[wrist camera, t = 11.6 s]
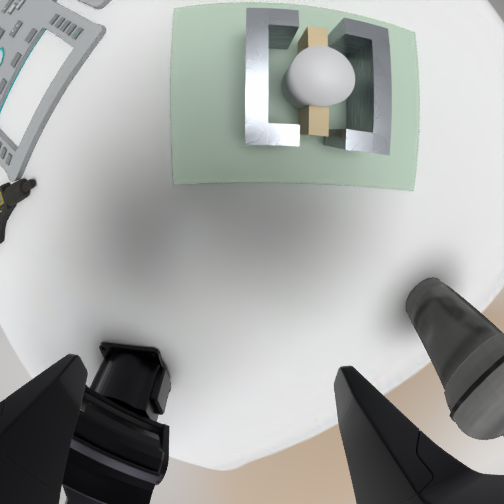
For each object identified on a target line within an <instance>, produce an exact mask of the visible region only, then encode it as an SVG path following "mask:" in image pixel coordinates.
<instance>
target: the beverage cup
mask: <svg viewBox="0 0 504 504" xmlns="http://www.w3.org/2000/svg"><path fill="white" fill-rule="evenodd" d="M406 312H407V313H408V315H409V317H410V319H411V321H412V324H413V326H414V328H415V330H416V332H417V333H418V335H419V337H420V339H421V341H422V343H423V345H424V347H425V349H426V351H427V353H428V355H429V357H430V359H431V361H432V363H433V365H434V367H435V369H436V371H437V374H438V376H439V378H440V380H441V383H442V385H443V387H444V389H445V392H444V394H445V397H446V401H447V404H448V407H449V409H450V411H451V413H450V417H451V419H452V420H453V421H454V422H456V424H457V425H458V427H459V428H460V429H461V430H462V431H463V432H464V433H465V434H466V435H468V436H470V437H472V438H475V439H479V440H488V439H494V438H497V437H500V436H502V435H503V436H504V333H502V332H501V331H500V330H499V329H498V328H497V327H496V326H495V325H494V324H493V323H492V322H490V321H489V320H488V319H487V318H486V317H485V316H484V315H483V314H481V313H480V312H479V311H478V310H477V309H476V308H474V307H473V306H472V305H471V304H470V303H469V302H467V301H466V300H465V299H464V298H463V297H461V296H460V295H459V294H458V293H456V292H455V291H454V290H453V289H451V288H450V287H449V286H447V285H445V284H444V283H443V282H441V281H440V280H439V279H436V278H429V279H426V280H424V281H422V282H421V283H419V284H418V285H417V286H416V287H415V288H414V289H413V291H412V292H411V293H410V295H409V297H408V299H407V303H406Z"/></svg>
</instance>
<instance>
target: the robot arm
mask: <svg viewBox="0 0 504 504" xmlns="http://www.w3.org/2000/svg"><path fill="white" fill-rule="evenodd" d="M99 348H100V350H101V352H102V355H103V357H104V360H103V361H102V363H101V365H100V368H99V370H98V372H97V374H96V376H95V378H94V380H93V382H92V384H91V386H90V388H89V387H87V385H86V380H87V369H86V368H85V366H84V364H83V362H82V360H81V358H80V357H79V356H78V355H75V354H68V355H66V356H65V357H63V358H62V359H61V360H59V361H58V362H56V363H55V364H53V365H52V366H50V367H49V368H48V369H46V370H45V371H43V372H42V373H41V374H39V375H38V376H36V377H35V378H33V379H32V380H31V381H29V382H28V383H26V384H25V385H24V386H22V387H21V388H19V389H18V390H17V391H15V392H14V393H12V394H11V395H10V396H8V397H7V398H6V399H5V400H3V401H1V402H0V504H59V499H60V492H61V486H62V485H63V488H64V491H65V494H66V496H67V499H66V502H65V504H149V503H150V499H151V495H152V492H153V489H154V486H155V485H158V484H159V483H160V482H161V481H162V479H163V478H164V476H165V473H166V470H167V467H168V460H169V426H168V425H166V424H161V423H158V422H157V418H158V414H159V415H162V414H163V413H164V411H165V407H166V402H167V398H168V394H169V392H170V390H171V387H170V386H171V382H170V379H169V376H168V373H167V370H166V368H165V367H164V366H163V362H162V359H161V356H160V353H159V351H158V350H156V349H153V348H143V347H133V346H125V345H117V344H109V343H101V345H100V347H99ZM153 353H154V354H153ZM334 392H335V399H336V407H337V415H338V423H339V429H340V433H341V437H342V441H343V445H344V449H345V453H346V458H347V462H348V466H349V471H350V475H351V479H352V484H353V489H354V493H355V497H356V503H357V504H504V475H491V474H482V473H478V472H476V471H474V470H472V469H470V468H469V467H467V466H466V465H464V464H463V463H461V462H460V461H458V460H457V459H455V458H454V457H453V456H451V455H450V454H448V453H447V452H445V451H444V450H443V449H442V448H440V447H439V446H438V445H436V444H435V443H434V442H433V441H432V440H430V438H428V437H427V436H426V435H425V434H424V433H423V432H422V431H419V428H417V427H416V426H415V425H414V424H413V423H412V422H411V421H410V420H409V419H408V418H407V417H406V416H404V414H402V413H401V412H400V411H399V410H398V409H397V408H396V407H395V406H394V405H393V404H392V403H391V402H390V401H389V400H388V399H387V398H385V397H384V396H383V395H382V394H381V393H380V392H379V391H378V390H377V389H376V388H375V387H374V386H373V385H372V384H371V383H370V382H369V381H368V380H366V379H365V378H364V377H363V376H362V375H361V374H360V373H359V372H358V371H357V370H356V369H355V368H354V367H353V366H342V367H340V368H339V370H338V372H337V376H336V379H335V382H334ZM80 409H81V410H80ZM83 411H84V412H83Z"/></svg>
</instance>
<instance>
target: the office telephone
mask: <svg viewBox="0 0 504 504" xmlns="http://www.w3.org/2000/svg"><path fill="white" fill-rule="evenodd" d="M56 1H57V0H0V112H1V110H2V107H3V105H4V103H5V100H6V98H7V96H8V94H9V92H10V90H11V88H12V86H13V84H14V82H15V80H16V78H17V76H18V74H19V72H20V70H21V68H22V67H23V65H24V63H25V61H26V60H27V58H28V56H29V55H30V53H31V51H32V50H33V48H34V47H35V45H36V43H37V42H38V41H39V39H40V38H41V36H42V35H43V33H44V32H45V31H46V30H49V31H51V32H52V33H54V34H56V35H57V36H59V37H60V38H61V39H63V40H64V41H66V42H67V43H69V44H70V45H71V46H73V47H74V49H73V50H72V51H71V53H70V54H69V56H68V57H67V59H66V60H65V62H64V63H63V65H62V66H61V68H60V70H59V71H58V73H57V74H56V76H55V78H54V79H53V81H52V83H51V84H50V86H49V88H48V89H47V91H46V93H45V95H44V96H43V98H42V100H41V102H40V104H39V106H38V108H37V109H36V111H35V113H34V115H33V117H32V119H31V122H30V124H29V126H28V128H27V130H26V132H25V134H24V136H23V138H22V140H21V142H20V144H19V146H18V147H17V146H16V145H15V144H14V143H13V142H12V141H11V140H10V139H9V138H8V137H7V136H6V135H5V133H4V132H3V131H2V130H1V129H0V165H1V166H2V168H3V169H4V170H5V172H6V173H7V175H8V178H9V180H10V181H12V182H13V181H16V180H19V179H21V177H22V175H23V173H24V171H25V168H26V166H27V164H28V161H29V159H30V157H31V154H32V152H33V150H34V148H35V146H36V143H37V141H38V139H39V137H40V135H41V133H42V131H43V129H44V127H45V125H46V124H47V122H48V120H49V118H50V116H51V114H52V112H53V111H54V109H55V107H56V105H57V104H58V102H59V100H60V98H61V97H62V95H63V94H64V92H65V90H66V89H67V87H68V86H69V84H70V82H71V81H72V79H73V78H74V76H75V75H76V74H77V72H78V71H79V69H80V68H81V66H82V65H83V64H84V62H85V61H86V59H87V58H88V56H89V55H90V54H91V52H92V51H93V49H94V48H95V47H96V45H97V44H98V43H99V41H100V40H101V39H102V37H103V36H104V35H105V33H106V28H105V27H104V26H102V25H100V24H95V23H93V22H91V21H89V20H87V19H85V18H83V17H81V16H80V15H78V14H76V13H74V12H72V11H70V10H68V9H67V8H65V7H63V6H61V5H59V4H57V3H56ZM79 1H82V2H84V3H86V4H88V5H90V6H92V7H95V8H97V9H102V8H104V7H105V6H106V5H107V4H108V3H109V2H110V1H111V0H79Z"/></svg>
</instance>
